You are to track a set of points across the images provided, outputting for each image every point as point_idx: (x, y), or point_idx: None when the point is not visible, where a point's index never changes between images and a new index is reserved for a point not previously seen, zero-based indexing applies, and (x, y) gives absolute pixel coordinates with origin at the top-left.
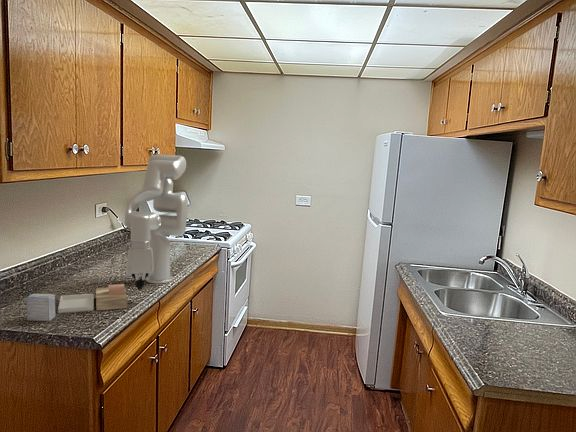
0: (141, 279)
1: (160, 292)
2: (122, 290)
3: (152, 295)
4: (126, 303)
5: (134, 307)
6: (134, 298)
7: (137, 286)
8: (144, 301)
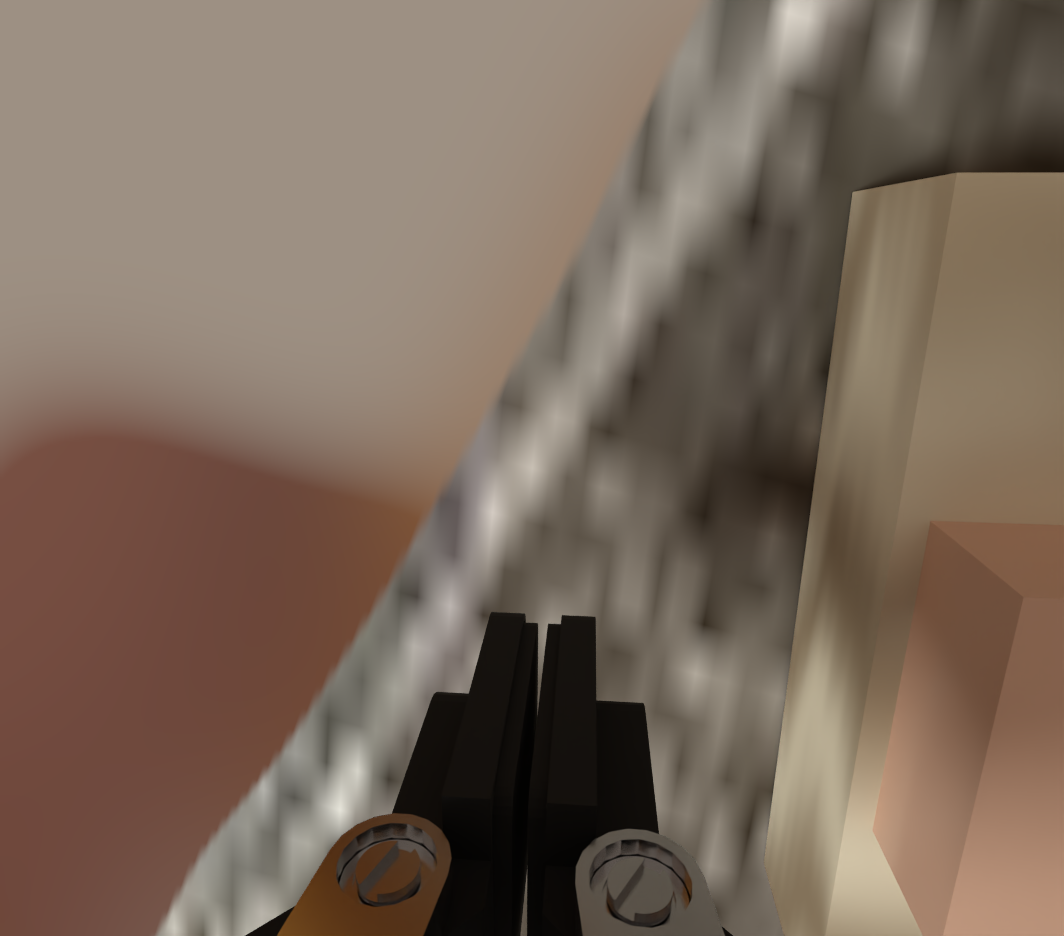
0: (467, 876)
1: (206, 850)
2: (1060, 571)
3: (330, 755)
4: (907, 183)
5: (704, 191)
6: (629, 695)
7: (610, 708)
8: (480, 498)
